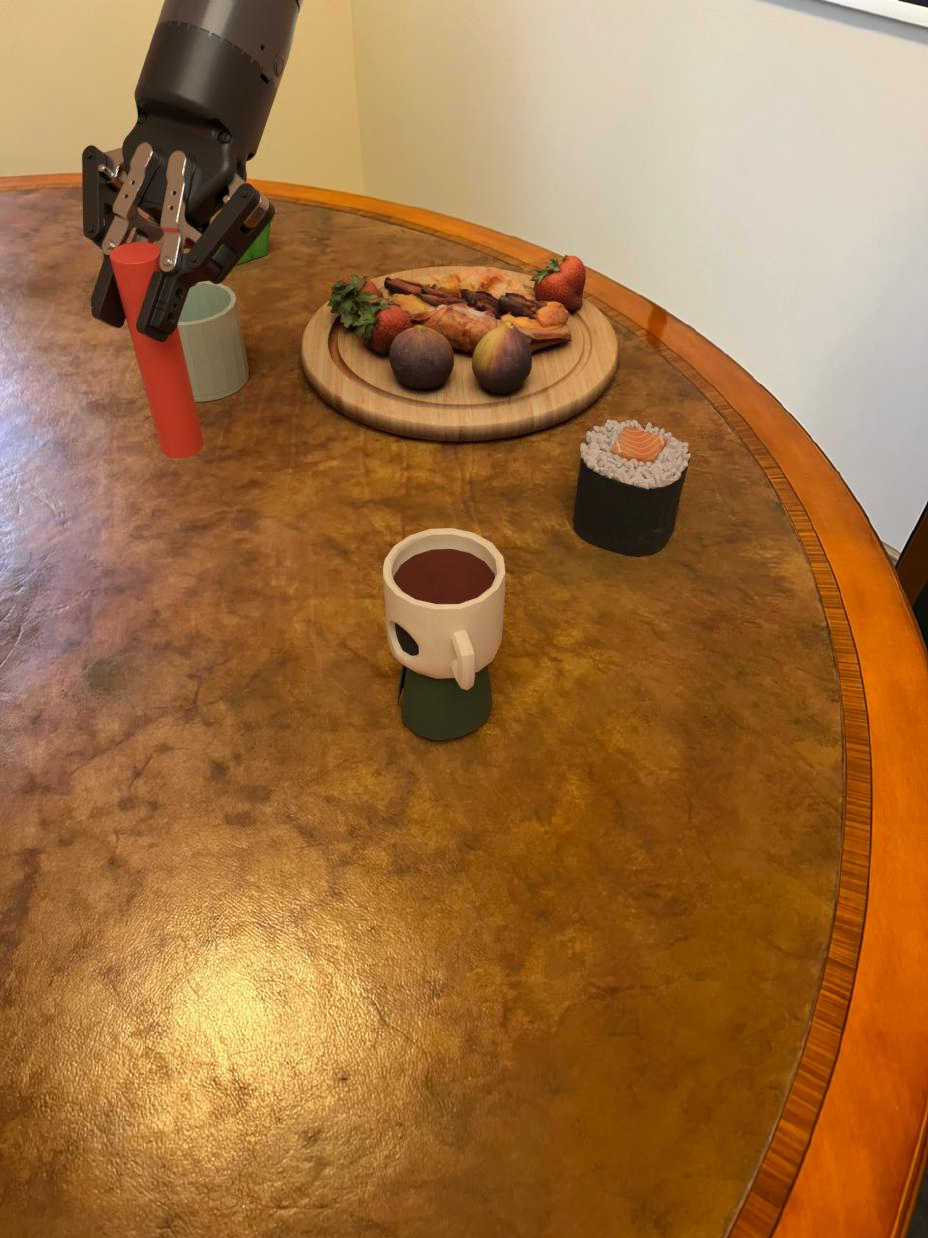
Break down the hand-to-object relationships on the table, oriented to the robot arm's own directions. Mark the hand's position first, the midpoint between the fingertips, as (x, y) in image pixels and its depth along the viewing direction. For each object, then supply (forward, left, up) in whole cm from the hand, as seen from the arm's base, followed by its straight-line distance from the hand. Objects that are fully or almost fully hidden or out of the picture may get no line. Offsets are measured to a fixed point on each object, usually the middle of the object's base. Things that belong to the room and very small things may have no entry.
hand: (128, 328), depth 57 cm
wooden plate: (+20, +33, -20) cm, 43 cm away
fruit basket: (-8, +54, -20) cm, 58 cm away
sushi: (+34, +7, -20) cm, 40 cm away
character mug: (+20, -13, -20) cm, 31 cm away
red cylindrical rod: (+1, +2, -10) cm, 10 cm away
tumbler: (-5, +28, -20) cm, 35 cm away
